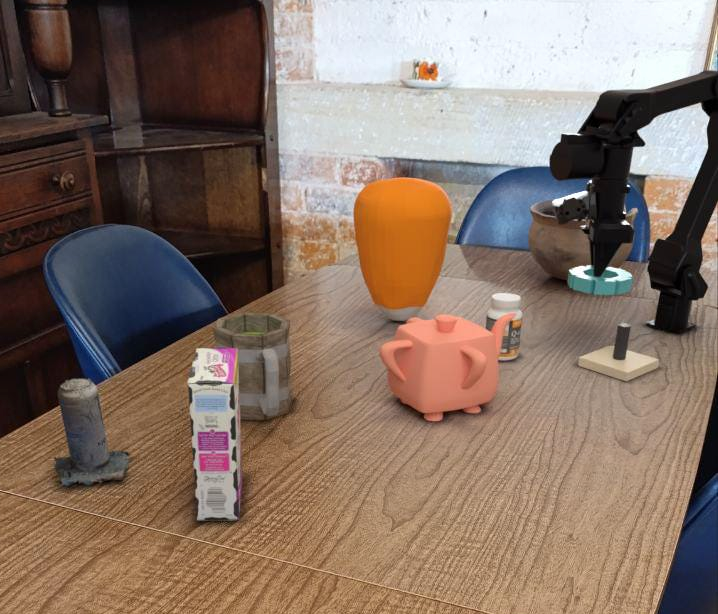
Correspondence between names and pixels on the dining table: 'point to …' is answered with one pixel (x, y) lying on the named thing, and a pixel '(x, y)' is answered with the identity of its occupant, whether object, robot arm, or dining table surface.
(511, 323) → the pill bottle
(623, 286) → the ring
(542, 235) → the ceramic bowl
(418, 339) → the teapot
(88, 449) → the grey upright cylinder
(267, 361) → the mug
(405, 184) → the orange egg-shaped ornament
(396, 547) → the dining table surface
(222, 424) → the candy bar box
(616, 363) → the peg stand
